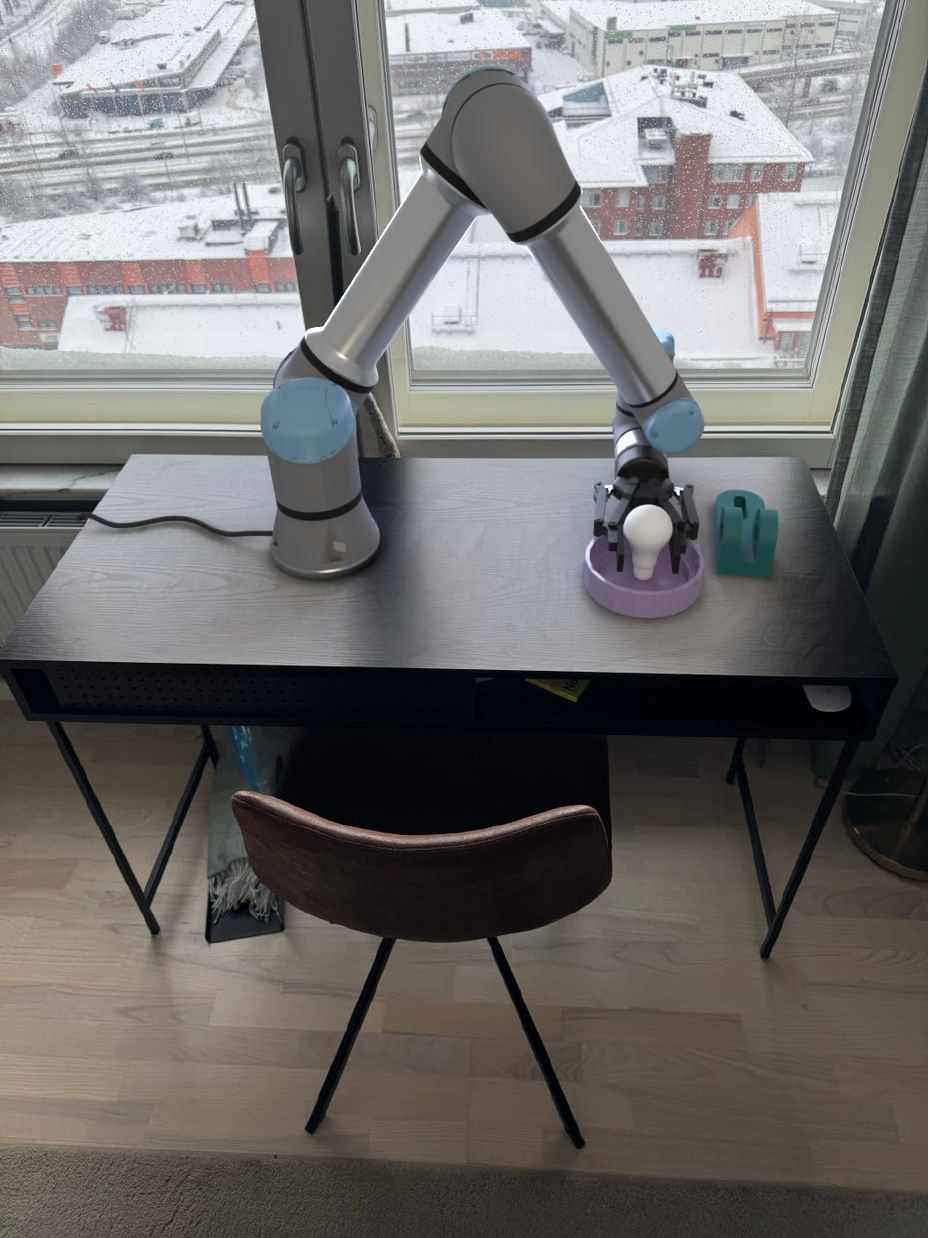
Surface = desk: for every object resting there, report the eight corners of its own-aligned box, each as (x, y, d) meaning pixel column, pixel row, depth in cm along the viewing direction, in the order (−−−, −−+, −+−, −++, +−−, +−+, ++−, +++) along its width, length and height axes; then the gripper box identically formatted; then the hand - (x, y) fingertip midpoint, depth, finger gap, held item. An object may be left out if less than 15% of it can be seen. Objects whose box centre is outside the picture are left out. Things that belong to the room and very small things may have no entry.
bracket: (768, 577, 124) (780, 528, 119) (717, 573, 125) (725, 524, 120) (760, 504, 138) (769, 457, 133) (713, 501, 139) (721, 454, 134)
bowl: (566, 603, 121) (568, 575, 118) (606, 541, 132) (608, 514, 129) (681, 634, 116) (685, 606, 113) (712, 567, 126) (717, 540, 123)
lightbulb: (632, 559, 126) (639, 490, 119) (673, 574, 124) (683, 504, 116) (610, 582, 123) (616, 512, 116) (652, 598, 120) (661, 527, 113)
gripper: (706, 491, 134) (722, 591, 117) (572, 488, 136) (569, 585, 119) (713, 445, 129) (731, 541, 112) (575, 442, 131) (572, 536, 114)
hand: (648, 563), depth 115 cm, fingers closed on lightbulb, 6 cm apart
